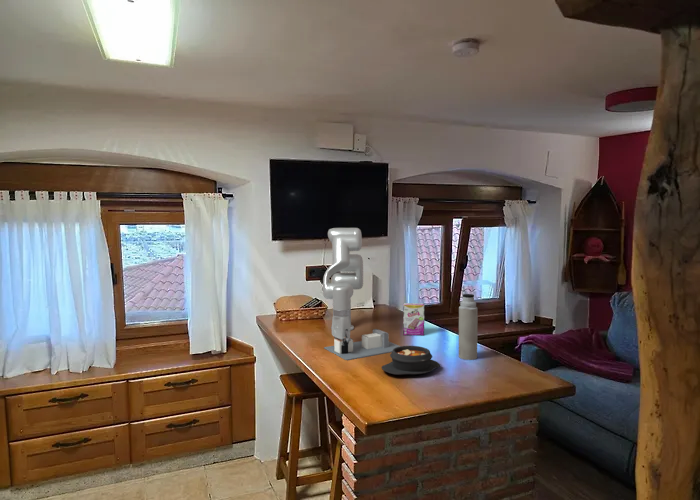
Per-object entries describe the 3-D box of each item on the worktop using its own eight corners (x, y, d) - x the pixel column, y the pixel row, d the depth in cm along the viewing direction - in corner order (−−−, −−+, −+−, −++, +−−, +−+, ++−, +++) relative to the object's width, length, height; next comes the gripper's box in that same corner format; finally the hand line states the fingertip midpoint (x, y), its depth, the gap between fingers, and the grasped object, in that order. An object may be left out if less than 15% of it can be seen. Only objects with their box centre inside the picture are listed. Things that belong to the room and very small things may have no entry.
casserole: (397, 383, 172) (397, 361, 172) (372, 369, 189) (372, 349, 188) (450, 372, 184) (450, 351, 183) (422, 359, 200) (422, 340, 200)
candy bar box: (403, 335, 241) (403, 304, 240) (403, 333, 246) (402, 302, 245) (424, 335, 240) (424, 304, 239) (424, 333, 245) (424, 303, 244)
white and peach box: (334, 350, 212) (334, 338, 212) (347, 348, 216) (347, 336, 215) (339, 353, 208) (339, 341, 208) (353, 351, 211) (352, 339, 211)
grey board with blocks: (324, 348, 219) (323, 333, 219) (380, 338, 235) (379, 325, 234) (346, 360, 200) (346, 344, 199) (405, 349, 216) (405, 334, 215)
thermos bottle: (459, 353, 208) (459, 292, 206) (477, 355, 205) (478, 293, 203) (457, 359, 200) (458, 295, 198) (476, 360, 198) (477, 296, 196)
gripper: (325, 310, 215) (325, 348, 217) (343, 317, 201) (343, 358, 202) (339, 308, 219) (339, 346, 221) (357, 315, 204) (358, 355, 206)
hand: (341, 351), depth 211 cm, fingers closed on white and peach box, 5 cm apart
